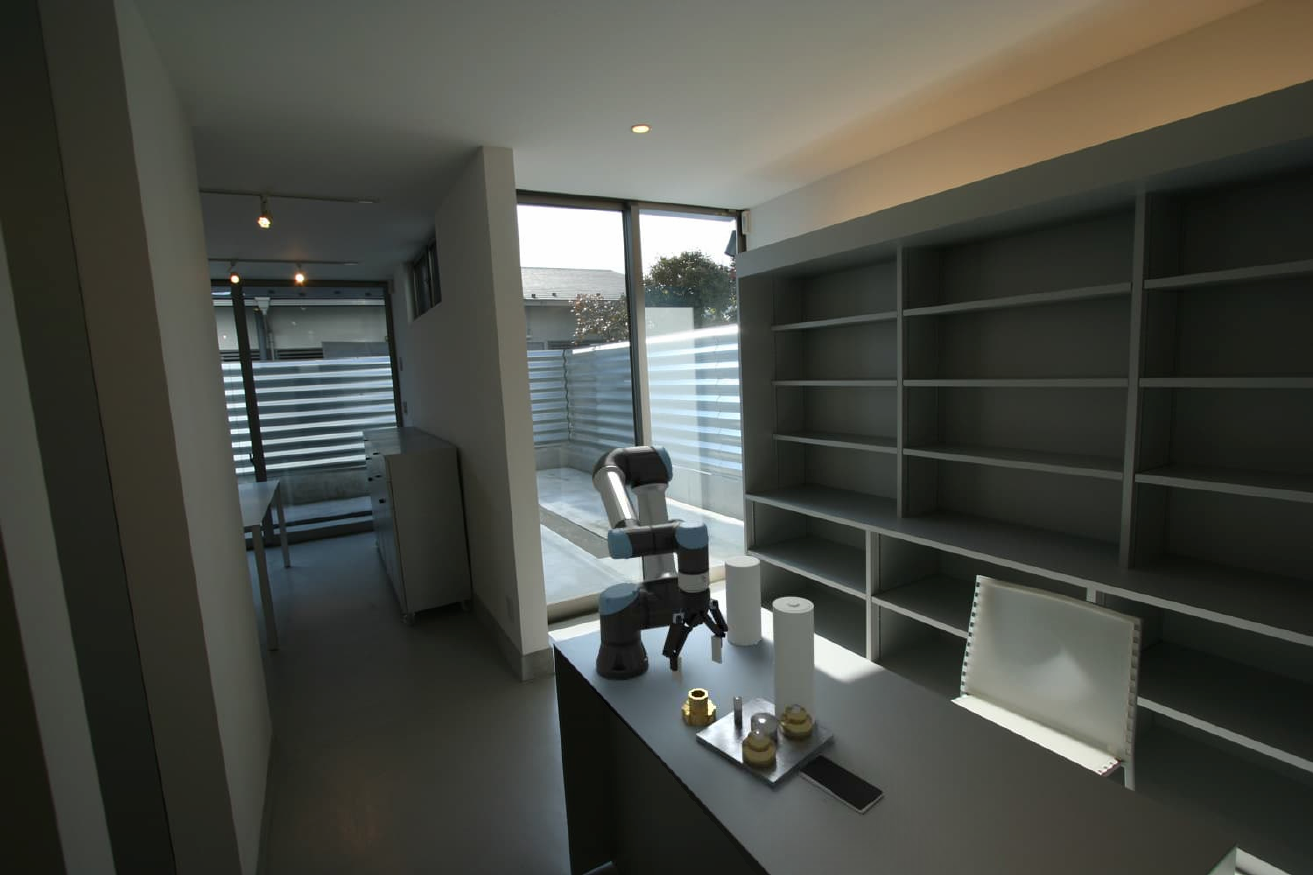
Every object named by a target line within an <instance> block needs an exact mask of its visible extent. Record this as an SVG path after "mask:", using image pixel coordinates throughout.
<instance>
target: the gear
mask: <svg viewBox="0 0 1313 875" xmlns="http://www.w3.org/2000/svg"><path fill="white" fill-rule="evenodd" d="M681 718H682V719H684V721H685V725H688V726H690V725H691V726H696V727H697V728H702V726H706V725H709V726H710V725H712V724H714V719H717V712H716V705H714V704H713V702H712V700H711V699H709V695H708V691H707V690H705V689H703V688H693V689H692V690H689V691H688V700H685V703H684V705H682V706H681Z"/></svg>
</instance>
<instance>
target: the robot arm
mask: <svg viewBox="0 0 1313 875" xmlns="http://www.w3.org/2000/svg"><path fill="white" fill-rule="evenodd" d="M673 477H674V472H673V464H672V460H671V457H670V454H669V452H668V450H667V449H666V448H665V447H664V446H662V445H640V446H630V447H617V448H613V449H610V450H608V451H607V452H605V453H603V454H602V455H601V456H600V458H598V460H597V461H596V463H595V464H594V466H593V469H592V473H591V479H592V483H593V487H594V489H595V490H596V491H597V493H599V495H600V497H601V501H602V503H603V507H604V510H605V513H606V516H607V519H608V522H609V526H610V530H608V532H607V536H606V537H607V538H606V539H607V548H608V554H609V556H610V558H611V559H612V560H629V559H634V558H644V561H645V568H646V574H647V575H646V576H645V578H644V579H643V581H642V583H643V584H642V585H643V587H641V588H640V587H639V586H638V584H636V583H633V582H629V583H628V582H622V583H617V584H613V585H610V586H609V587H607V588H605V589H604V590H603V591H602V592H601V593H600V595H599V597H598V615H599V628H600V629H599V630H600V632H599V634H600V645H599V649H598V652H597V657H596V660H595V670H596V672H597V674H598V675H600V676H602V677H603V678H606V679H609V680H629V679H633V678H637V677H638V676H640V675H642V674H644V673H645V672H646V671H647V670H648V668H649V665H650V664H649V656H648V653H647V651H646V648H645V645H644V642H643V640H642V631H645V630H647V631H648V630H652V629H653V630H654V629H660V628H666V627H667V628H668V627H669V628H668V631H667V634H666V638H665V642H664V645H663V647H662V652H661V655H662V656H663V657H665V658H667V659H669V669H670V671H671V680H672V682H674V683H676V684H678V685H683V682H684V681H683V668H682V667H683V666H682V663H683V662H682V657H681V656H680V655H681V651H682V650H683V647H684V645H685V643H686V641H687V639H688V636H689V634H690V633H691V632H693V630H694V628H696V627H698V626H701V625H703V624H704V625H705V626H706V627H707V628H708V629H709V630H710V631H711V632H712V633H713V634H711V635H710V642H711V644H710V645H711V646H710V647H711V661H713V662H715V663H717V664H719V665H720V664H722V663H723V654H722V649H723V645H724V644H723V639H725V638H726V637H727V631H728V626H727V621H726V620H725V618H724V616H723V614H722V611H721V609H720V605H719V600H718V599H715V598H712V597H711V587H710V585H711V584H710V583H711V581H710V552H709V551H710V549H709V547H710V546H709V542H710V537H709V532H708V526H707V524H706V523H704V522H701V521H697V520H689V521H686V520H682V519H680V518H671V519H669V514H668V507H667V499H666V491H667V489H668V488H669V486H670V485H669V482H672V480H673ZM626 486H630V490H631V493H633V494H634V495H636V498H637V505H638V514H639V516H638V514H637V512H636V508H635V506H634V503H633V502H632V499H631V496H630V493H629V492H628V489H627V487H626ZM674 554H676V560H677V561H676V560H675V555H674ZM675 561H676V562H677V568H676V562H675ZM709 611H710V614H711V616H712V617H711V616H710V615H709Z"/></svg>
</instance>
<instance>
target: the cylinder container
mask: <svg viewBox="0 0 1313 875" xmlns="http://www.w3.org/2000/svg"><path fill="white" fill-rule="evenodd" d="M814 606H815V605H814V603H813V602H812V601H810V600H809V599H806V598H803V597H798V596H784V597H783V596H782V597H779V598H776V599H775V600H773V602H772V639H773V640H772V641H773V642H772V643H773V644H772V645H773V649H772V650H773V689H774V690H773V694H774V696H773V698H774V700H773V701H774V708H775V716H776V718H777V719H778V720H779V721H780V716H781V714H782V713H784V714H786V708H787V707H791V706H792V705H793V704H797V705H799V706H800V708H805V710H806V715H807V714H809V715H810V716H811V718H812V724H814V725H816V724H815V722H816V716H815V715H816V714H815V713H816V712H815V710H816V709H815V708H816V707H815V706H816V705H815V704H816V702H815V701H816V700H815V694H816V693H815V692H816V691H815V617H814V616H815V611H814V609H815V608H814Z"/></svg>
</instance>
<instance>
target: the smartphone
mask: <svg viewBox="0 0 1313 875" xmlns="http://www.w3.org/2000/svg"><path fill="white" fill-rule="evenodd" d="M798 774H799V776H801V777H802V778H803V779H805V780H806V781H807V782H809V783H811V784H812V785H814V786H815V787H817V788H819V789H821V790H823V791H824V792H826V793H827V794H829V795H831V796H832V797H834V798H835V799H837V800H838V801H840V802H842V804H844V805H846V806H848V807H849V808H851V809H853V810H854V811H856V812H857V813H859V814H864V813H865V812H867V811H868V810H869V809H870V808H871V807H872V806H873V805H874V804H875V803H877V801H879V799H882V797H883V796H884V792H883V791H882V790H881V789H880V788H878V787H876V786H874V785H873V784H872V783H869V782H868V781H866V780H865V779H863V778H862V777H859V776H858V775H856V774H854V773H853V772H851V771H849V770H848V769H846V768H844V767H843V766H841V765H839V764H837V763H836V762H834V761H833V760H831V759H829V758H828V757H826V756H824V755H820V754H819V755H816V757H814V759H813V758H812V759H811V760H810V761H808V762H807V763H805V764H804V765H803V766H801V767H800V768H799V770H798Z"/></svg>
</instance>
